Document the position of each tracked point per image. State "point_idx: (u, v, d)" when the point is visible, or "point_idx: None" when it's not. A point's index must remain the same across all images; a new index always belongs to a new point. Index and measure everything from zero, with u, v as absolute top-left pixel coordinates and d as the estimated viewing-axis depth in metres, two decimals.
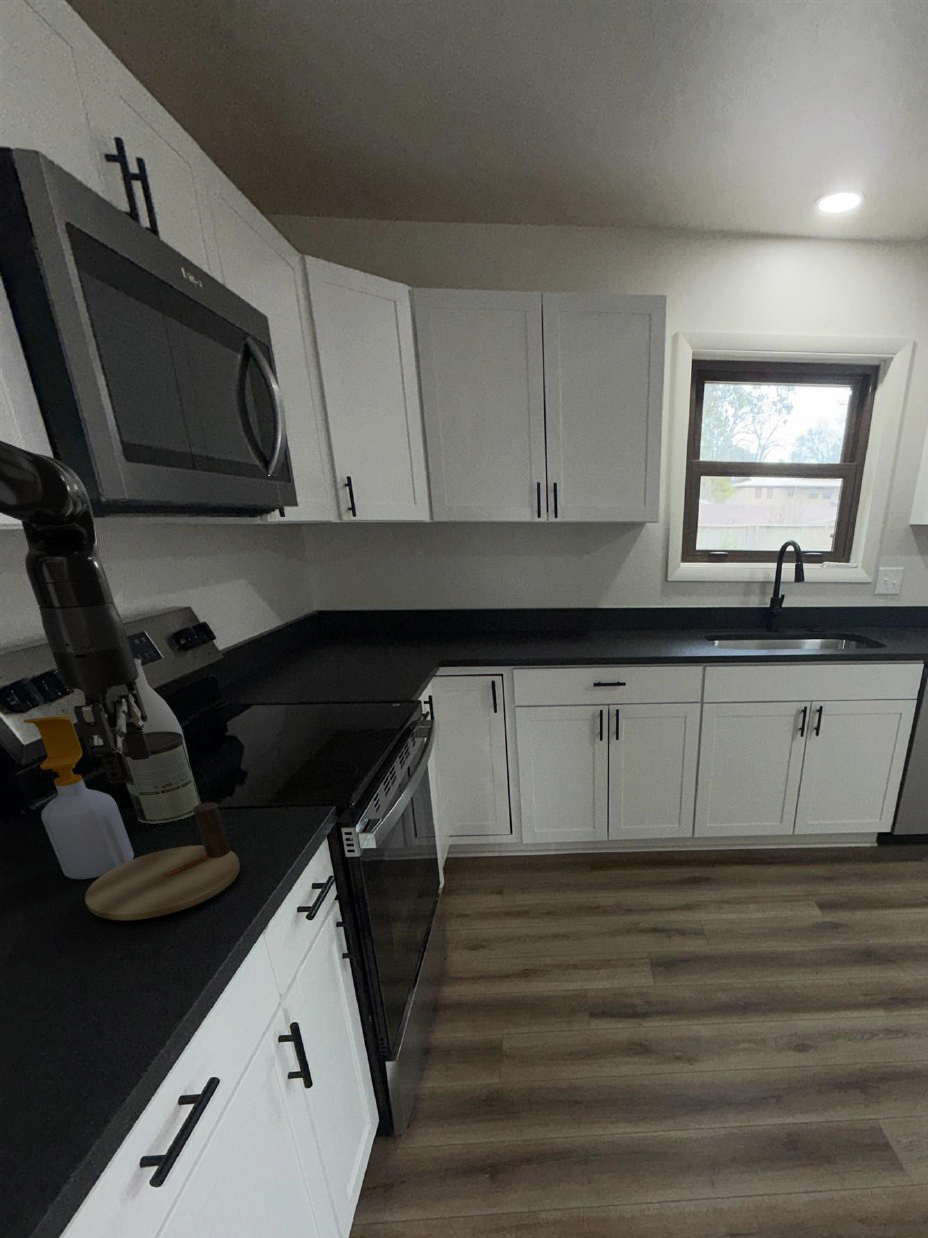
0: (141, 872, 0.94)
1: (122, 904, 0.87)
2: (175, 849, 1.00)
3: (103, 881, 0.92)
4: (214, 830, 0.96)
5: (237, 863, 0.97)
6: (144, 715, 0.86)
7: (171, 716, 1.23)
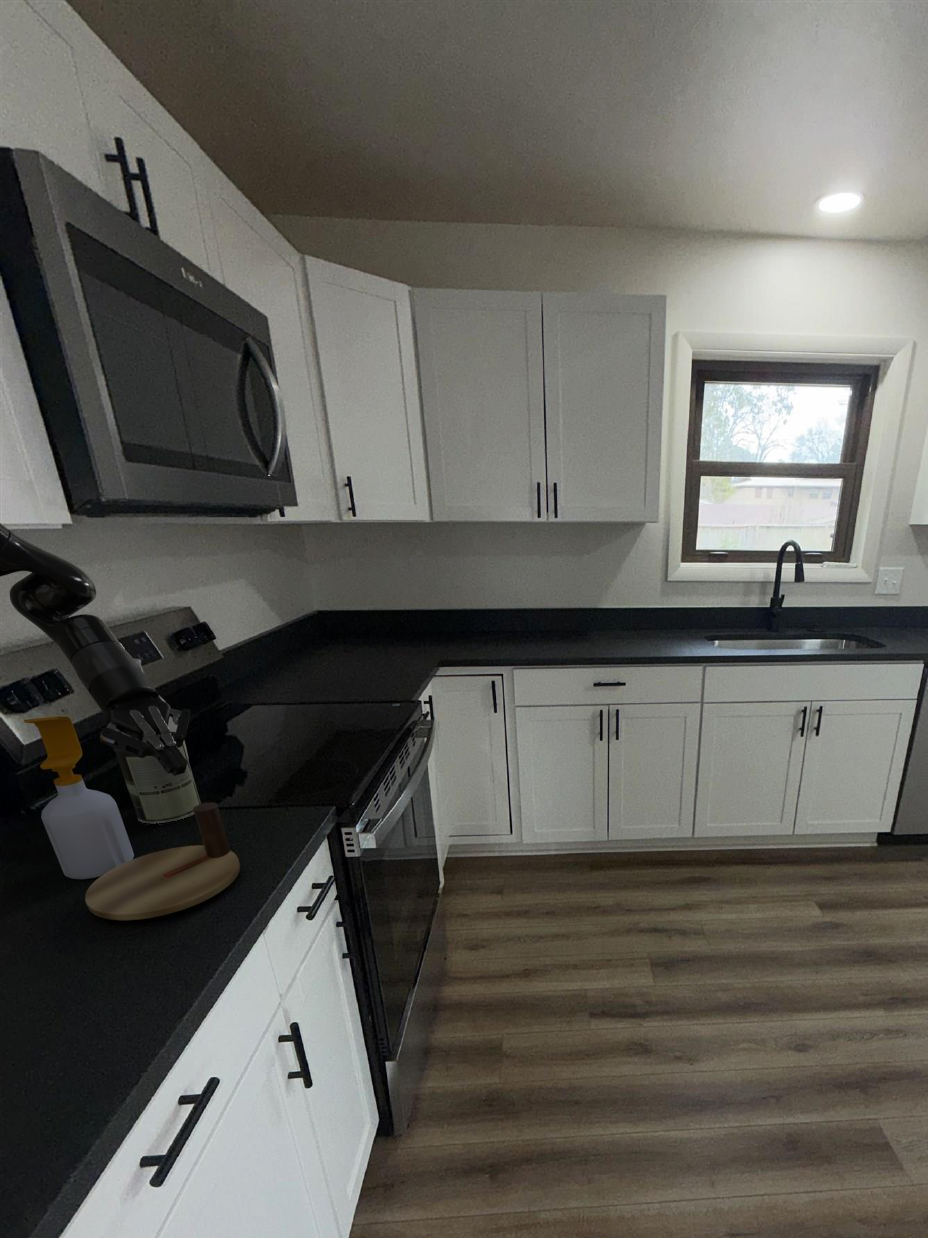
0: (141, 872, 0.94)
1: (122, 904, 0.87)
2: (175, 849, 1.00)
3: (103, 881, 0.92)
4: (214, 830, 0.96)
5: (237, 863, 0.97)
6: (179, 733, 0.98)
7: None
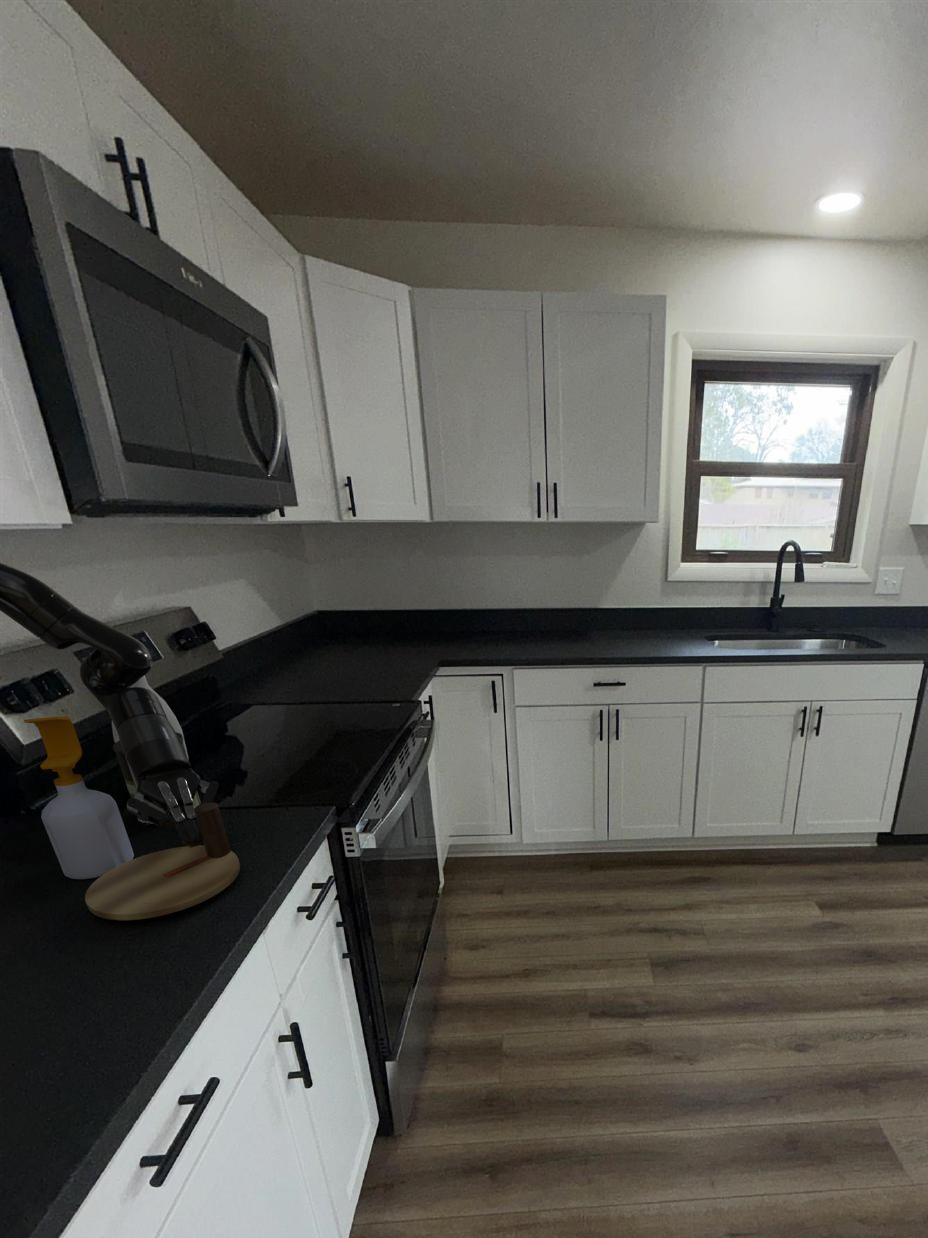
0: (141, 872, 0.94)
1: (121, 904, 0.87)
2: (176, 849, 1.01)
3: (103, 880, 0.92)
4: (214, 830, 0.96)
5: (237, 863, 0.96)
6: None
7: (171, 716, 1.23)
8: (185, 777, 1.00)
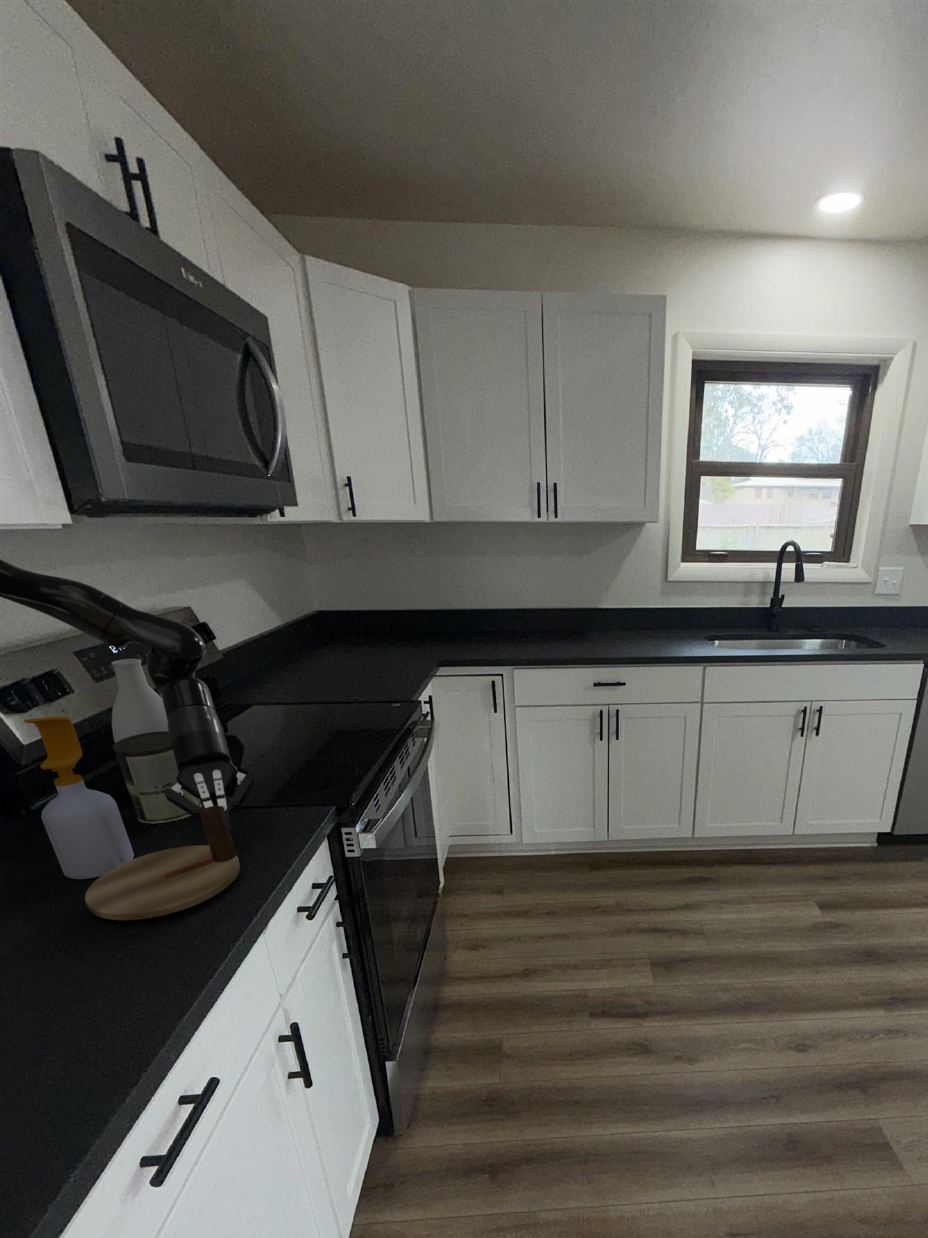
0: (148, 868, 0.95)
1: (112, 901, 0.87)
2: (191, 847, 1.01)
3: (112, 873, 0.94)
4: (217, 835, 0.95)
5: (234, 871, 0.95)
6: (234, 799, 1.01)
7: None
8: (222, 769, 1.02)
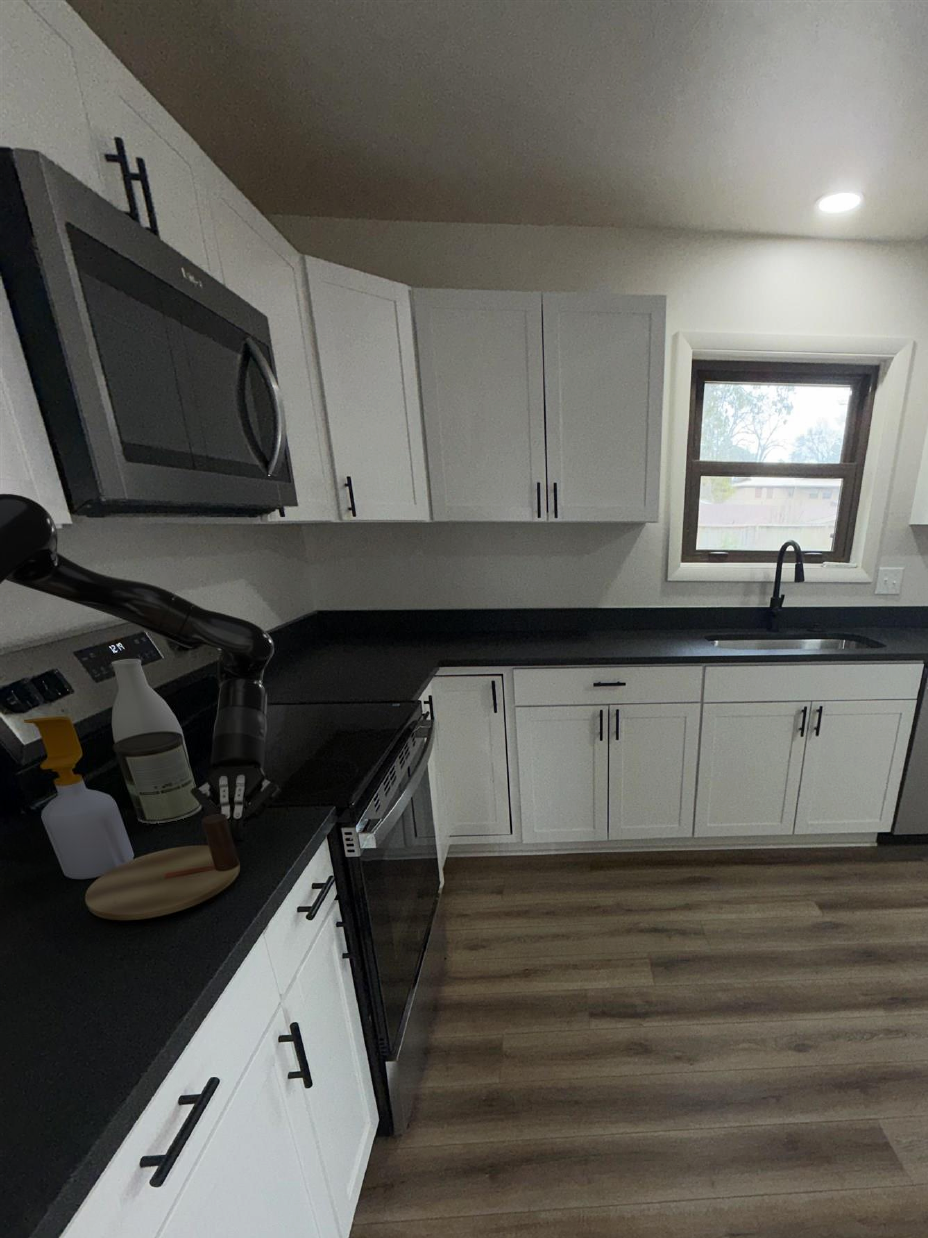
0: (162, 864, 0.96)
1: (104, 894, 0.89)
2: None
3: (133, 862, 0.97)
4: (214, 844, 0.93)
5: (219, 884, 0.91)
6: (250, 807, 0.98)
7: (171, 716, 1.23)
8: (249, 774, 1.00)
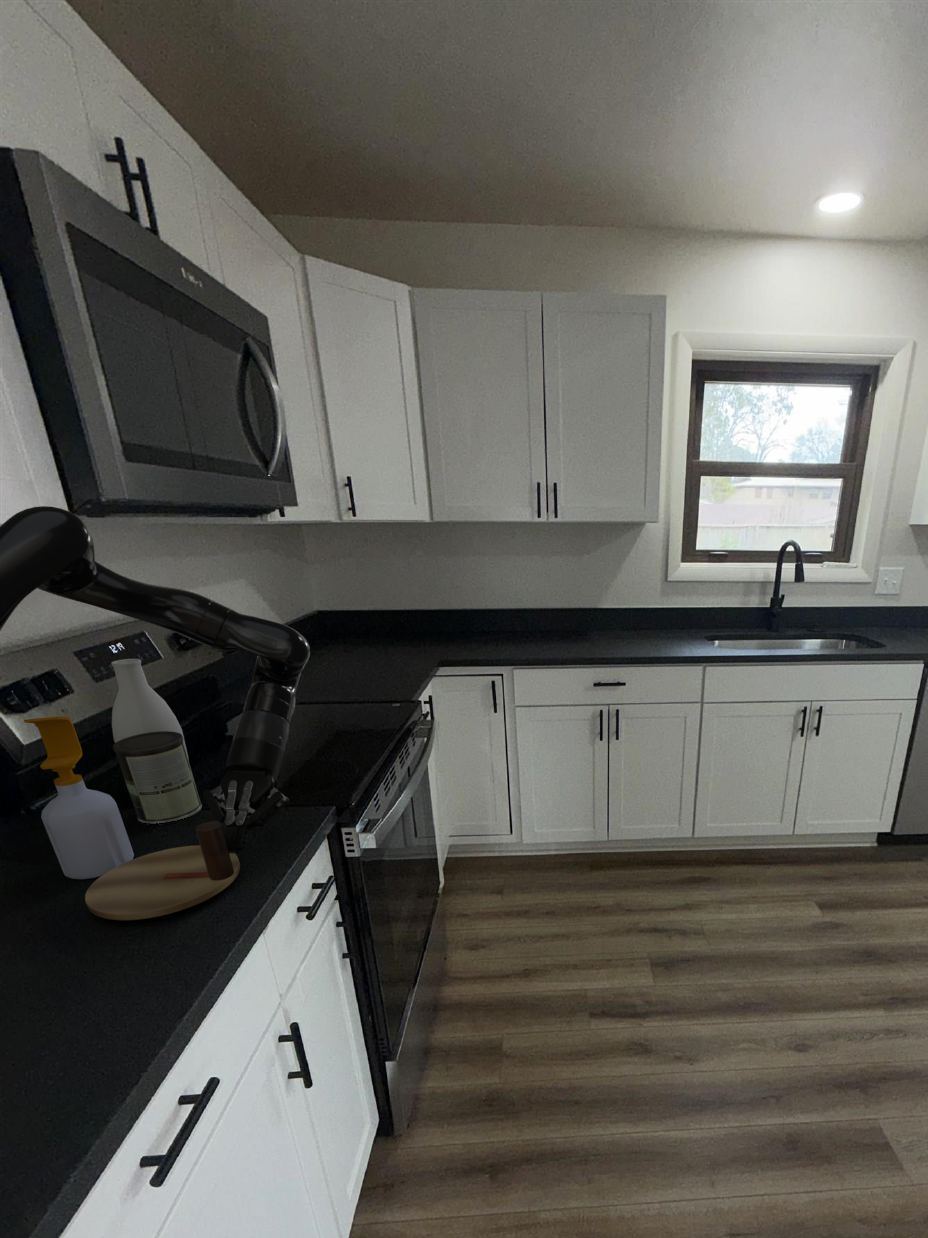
0: (173, 862, 0.97)
1: (105, 886, 0.91)
2: None
3: (153, 855, 0.99)
4: (205, 852, 0.90)
5: (199, 895, 0.89)
6: (253, 815, 0.95)
7: (171, 716, 1.23)
8: (259, 781, 0.97)
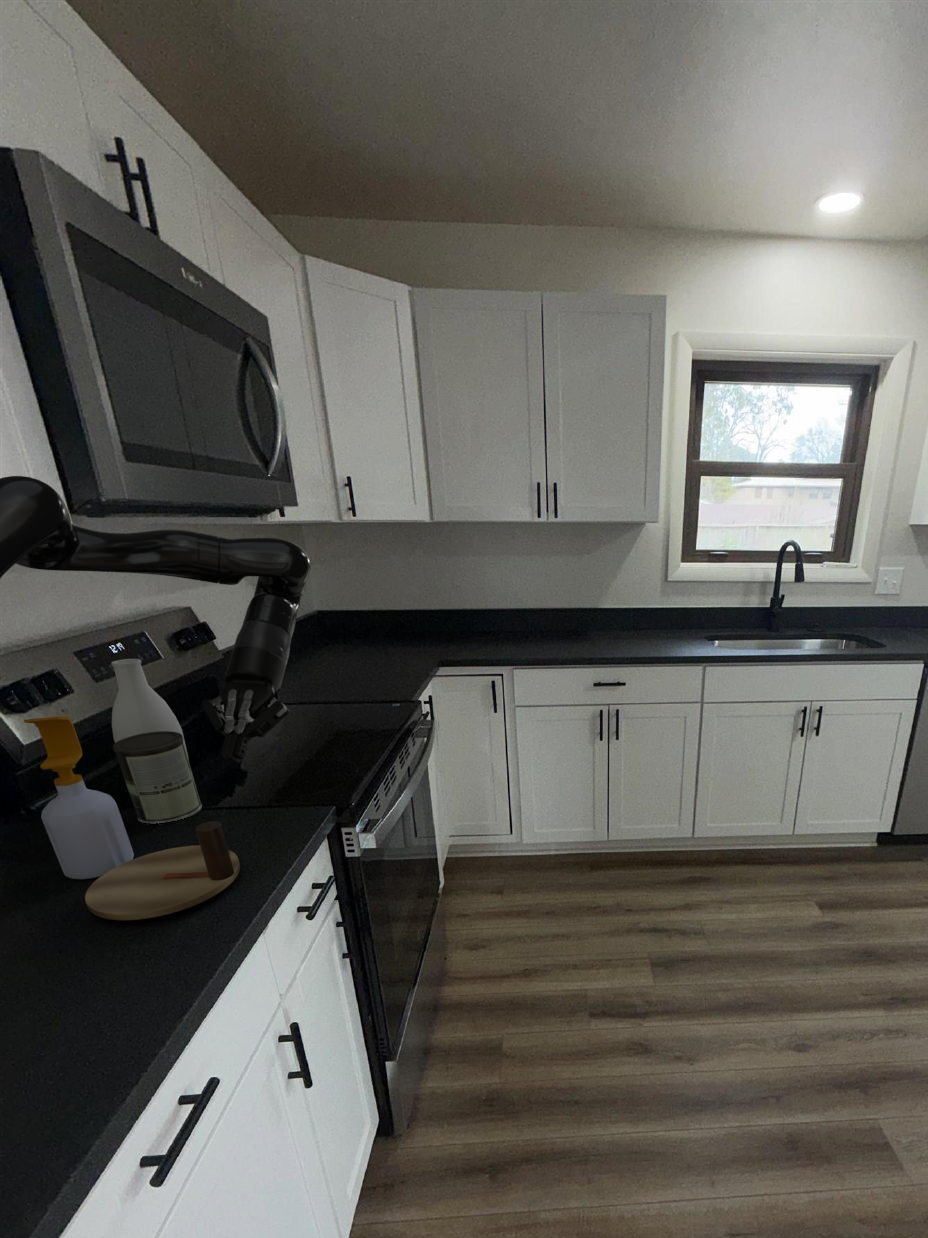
0: (173, 862, 0.97)
1: (105, 886, 0.91)
2: None
3: (153, 855, 0.99)
4: (205, 852, 0.90)
5: (199, 895, 0.89)
6: (252, 723, 0.93)
7: (171, 716, 1.23)
8: (259, 690, 0.95)
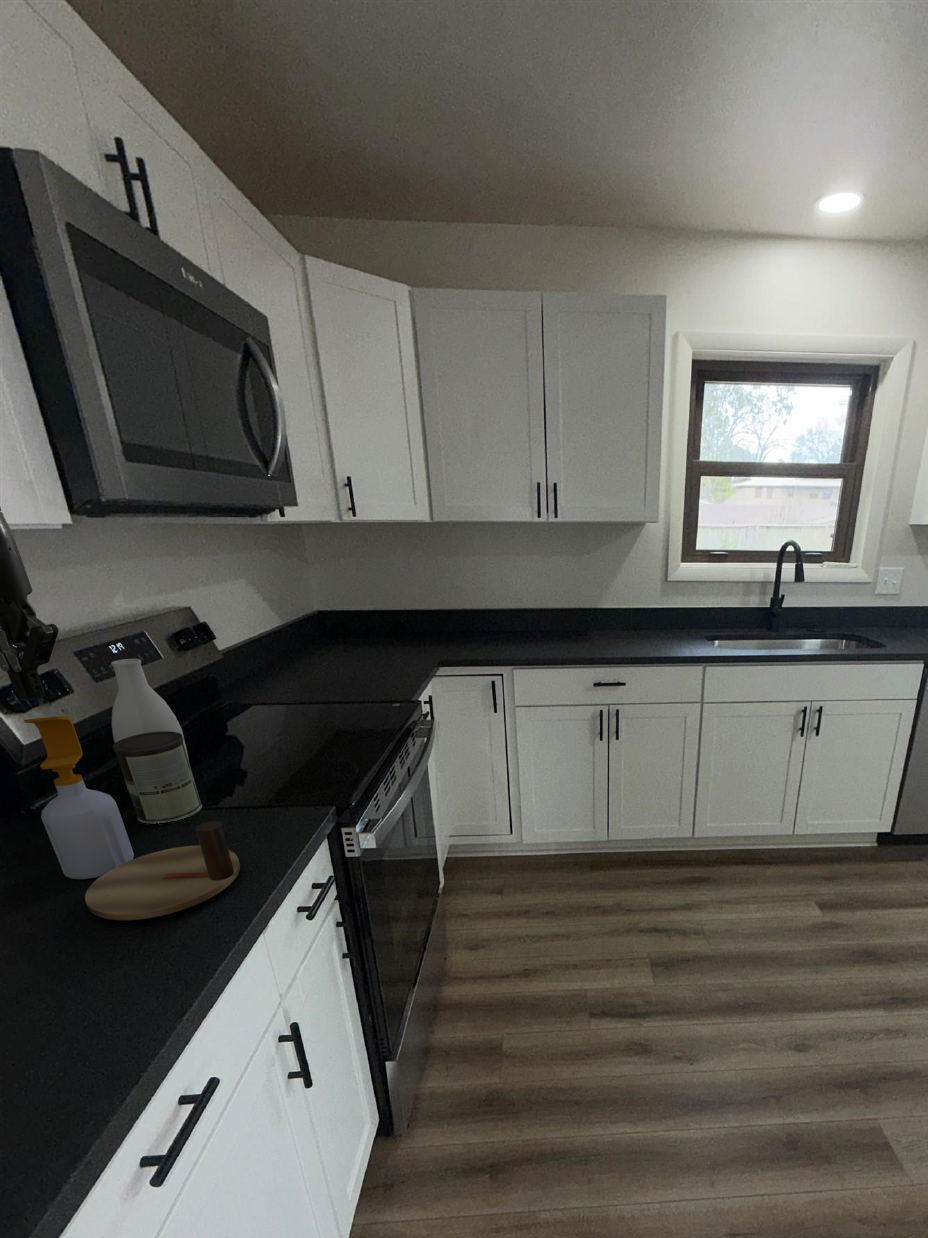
0: (173, 862, 0.97)
1: (105, 886, 0.91)
2: None
3: (153, 855, 0.99)
4: (205, 852, 0.90)
5: (199, 895, 0.89)
6: (25, 659, 0.78)
7: (171, 716, 1.23)
8: (5, 612, 0.76)
